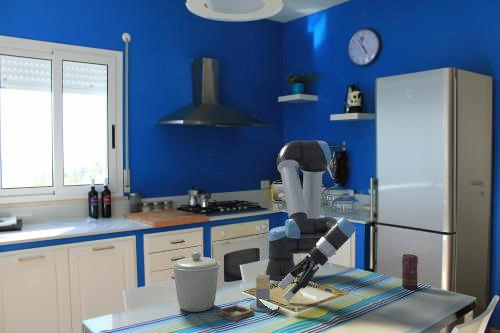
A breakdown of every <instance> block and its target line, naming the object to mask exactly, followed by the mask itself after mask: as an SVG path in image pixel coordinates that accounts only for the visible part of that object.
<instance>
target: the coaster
mask: <svg viewBox="0 0 500 333" xmlns="http://www.w3.org/2000/svg"><path fill="white" fill-rule="evenodd" d="M249 309H251V310H254V312H256V313H271V312H275V311H274V310H272V309H270V308H260V307H256V301H254V302H251V303H250V305H249Z"/></svg>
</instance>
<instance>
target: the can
mask: <svg viewBox="0 0 500 333" xmlns="http://www.w3.org/2000/svg"><path fill="white" fill-rule="evenodd" d="M401 263H402V264H401V271H402V272H401V273H402V274H401V281H402V282H401V285H402V289H405V290H411V291H414V290H415V291H416V290H417V289H418V264H419V258H418V255H417V254H416V255H415V254H411V253H410V254H409V253H406V254H403V255H402V256H401Z"/></svg>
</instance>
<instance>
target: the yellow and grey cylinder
mask: <svg viewBox="0 0 500 333" xmlns="http://www.w3.org/2000/svg"><path fill="white" fill-rule="evenodd" d="M255 286H256V287H255V290H256V294H255V296H256V298H255V299H256V301H255V302H256V307H260V308H268V307H267V306H265V305H264V304H263V303H262V302H261V301H260V300H259V299H268V300H269V299H270V300H271V279H270V275H266V274H257V275H256V278H255Z"/></svg>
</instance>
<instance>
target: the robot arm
mask: <svg viewBox="0 0 500 333" xmlns="http://www.w3.org/2000/svg"><path fill="white" fill-rule="evenodd" d="M278 152H279V153H278V155H277V159H276V166H277V167H276V168H277V171H278V172H279V173H280V176H281V181H282V182H281V183H282V187H283V192H284V198H285V203H286V209H287V215H288V219H286V220H285V222H284V225H283V226H277V227H274V228H271V229H270V230H269V232H268V263H267V266H266V270H265V275H270V280H272V281H280V280H282V279H284V280H283V281H281V282H279V284H277V285H278V287H279V288H280V290H283V291H284V290H285V289H286V288H287V287H288V286H289V285H290V284H291V283H292V282H293V281H294V280H295V279H297V278H298V277H297V276H299V275H300V276H299V278H298V280H296V281H295V282H294V283H293V285H292V286H291V287H289V289H288V290H287V291H286V292H285V293H284V294H283V295H282V297H283V298H284V299H285V300H286V301H287V302H290V301H291V300H292V299H293V298H294V297H295V296H296V295H297V293H298V292H299V291H300V290H301V289H303V290H304V289H306V288H307V286H308V285H309V283H310V282H311V280H312V278H313V277H314V275H315V274H316V273H317V271H318V270H319V269H320V266H321V267H324V265H325V264H326V263H327V262H328V261H329V258H332V257H333V256H335V255H337V253H336V252H337V251H338V250H339V249H340V248H341V247H342V246H343V245H344V244H345V243H346V242H347V241H348V240H349V239H350V238H351V237H352V236H353V235H354V233H355V232H356V231H357V230H356V227H355V225H354V224H353V223H352V222H351V221H350V220H348V218H346V217H344V216H340V218H338V219H336V218H334V217H333V216H328V215H326V216H323V217H321V203H322V187H323V186H322V185H323V184H322V183H323V174H325V172H326V171H327V167H328V168H329V167H330V165H331V163H332V154H331V149H330V147H329V144H328V143H327V142H326V141H323V140H292V141H289V142H287V143H286V144H285V145H283V147H281V149H280V151H278ZM299 168H300V171H301V172H302V173H303V175H302V176H303V180H302V182H303V183H302V184H301V179H300V174H299ZM320 217H321V218H320ZM298 254H299V255H301V254H302V255H303V254H305V255H306V254H308V255H306V256H305V257H304V258H302V260H300V261H299V262H298V263H297V264H296V263H295V260H294V258H295V256H294V255H298ZM309 255H310V256H309ZM318 265H320V266H318ZM294 277H295V278H294ZM296 277H297V278H296Z"/></svg>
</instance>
